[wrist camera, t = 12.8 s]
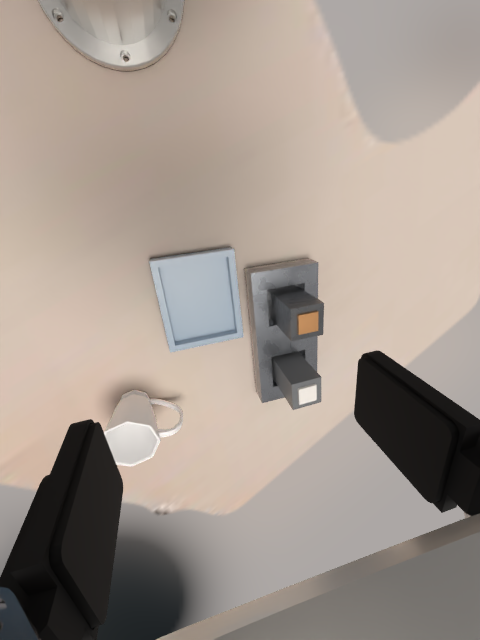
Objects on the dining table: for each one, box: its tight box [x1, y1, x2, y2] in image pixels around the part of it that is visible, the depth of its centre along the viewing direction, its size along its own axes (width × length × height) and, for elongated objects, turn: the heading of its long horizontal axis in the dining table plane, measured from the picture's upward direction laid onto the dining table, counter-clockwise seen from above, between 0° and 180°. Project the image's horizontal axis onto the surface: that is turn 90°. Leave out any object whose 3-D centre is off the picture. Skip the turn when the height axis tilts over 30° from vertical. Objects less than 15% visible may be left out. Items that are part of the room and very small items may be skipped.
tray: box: [149, 247, 243, 352], centre depth 37 cm, size 12×10×2 cm
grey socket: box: [244, 258, 324, 403], centre depth 38 cm, size 20×9×9 cm, turn 6°
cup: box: [104, 390, 183, 467], centre depth 38 cm, size 7×10×8 cm
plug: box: [271, 351, 321, 410], centre depth 40 cm, size 4×4×8 cm
